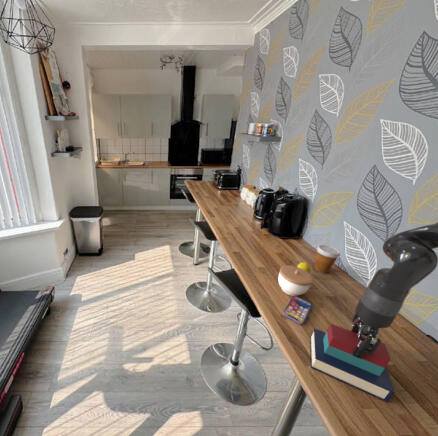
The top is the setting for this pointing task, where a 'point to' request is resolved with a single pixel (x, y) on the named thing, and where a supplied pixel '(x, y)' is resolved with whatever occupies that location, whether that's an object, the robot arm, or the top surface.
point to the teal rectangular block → (351, 358)
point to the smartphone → (297, 309)
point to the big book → (349, 371)
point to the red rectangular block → (349, 341)
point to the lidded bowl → (294, 280)
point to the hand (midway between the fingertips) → (354, 346)
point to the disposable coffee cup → (325, 258)
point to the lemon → (304, 266)
